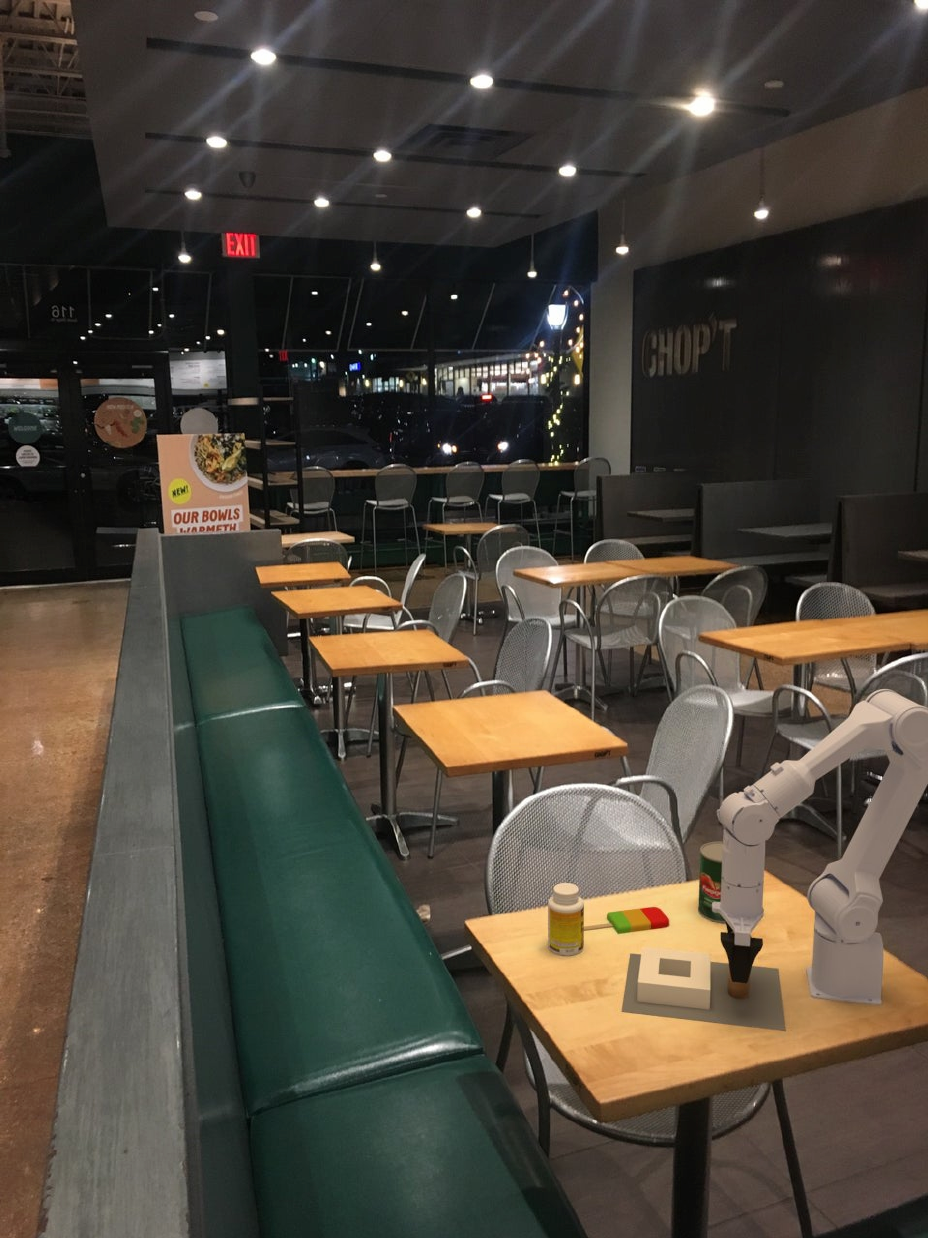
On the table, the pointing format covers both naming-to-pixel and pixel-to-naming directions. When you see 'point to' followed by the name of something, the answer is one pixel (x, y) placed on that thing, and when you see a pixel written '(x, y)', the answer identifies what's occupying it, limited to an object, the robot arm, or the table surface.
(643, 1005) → the mat
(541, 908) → the table surface
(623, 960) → the table surface
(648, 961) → the hole block
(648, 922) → the popsicle
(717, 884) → the canned tomato
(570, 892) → the supplement bottle
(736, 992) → the peg
